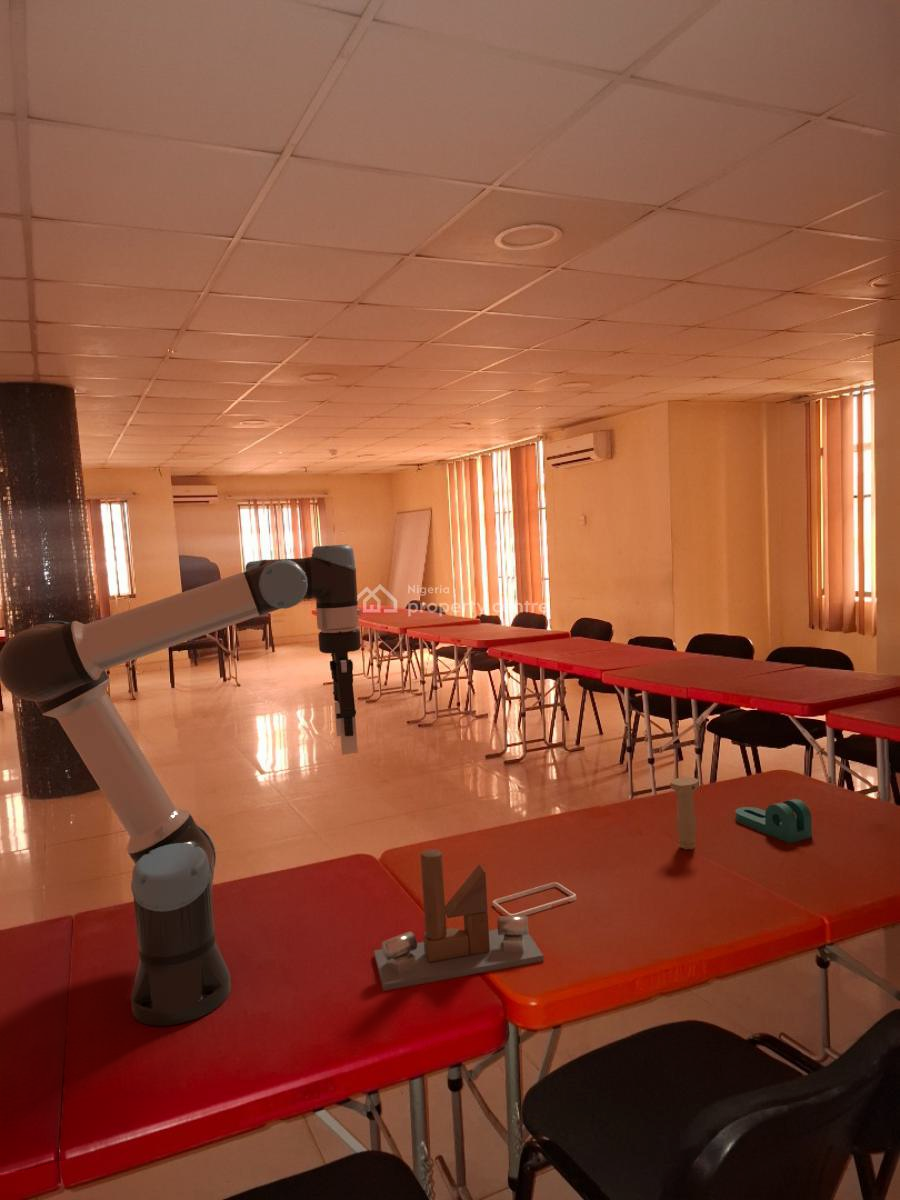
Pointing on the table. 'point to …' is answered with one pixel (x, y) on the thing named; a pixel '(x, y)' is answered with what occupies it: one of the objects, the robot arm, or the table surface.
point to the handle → (685, 810)
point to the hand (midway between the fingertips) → (346, 744)
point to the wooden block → (453, 912)
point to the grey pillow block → (400, 952)
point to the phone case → (530, 891)
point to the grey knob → (513, 932)
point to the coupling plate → (457, 963)
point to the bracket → (779, 820)
